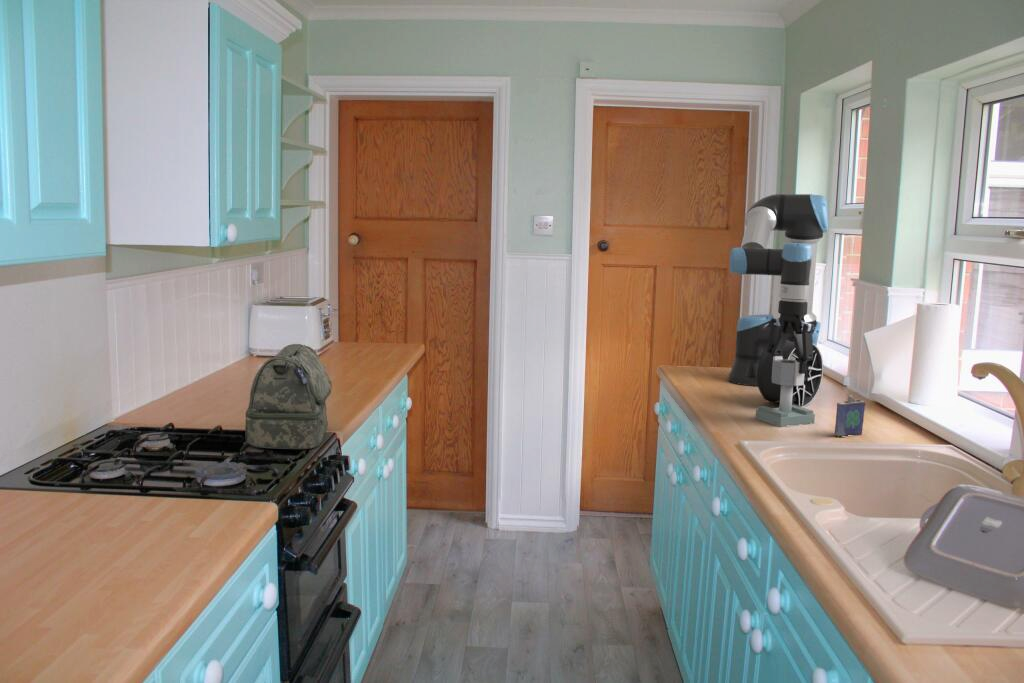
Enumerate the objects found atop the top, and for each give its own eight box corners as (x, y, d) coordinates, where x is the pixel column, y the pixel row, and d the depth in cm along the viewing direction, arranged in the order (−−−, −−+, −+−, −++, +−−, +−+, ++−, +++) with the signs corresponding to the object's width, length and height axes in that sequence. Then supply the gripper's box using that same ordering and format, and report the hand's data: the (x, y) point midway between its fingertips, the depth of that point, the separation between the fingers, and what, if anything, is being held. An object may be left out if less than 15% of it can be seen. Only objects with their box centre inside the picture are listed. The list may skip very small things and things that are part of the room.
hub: (788, 379, 239) (789, 358, 238) (808, 384, 232) (810, 363, 231) (765, 381, 236) (767, 359, 235) (786, 386, 229) (787, 364, 228)
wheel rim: (780, 411, 247) (785, 344, 244) (754, 405, 254) (759, 339, 251) (820, 404, 259) (825, 339, 256) (794, 398, 266) (799, 335, 263)
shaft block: (788, 415, 242) (791, 377, 241) (814, 423, 234) (817, 384, 232) (755, 418, 237) (758, 380, 236) (780, 426, 228) (783, 386, 227)
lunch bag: (321, 452, 193) (320, 358, 190) (239, 453, 191) (237, 357, 188) (334, 425, 218) (334, 341, 215) (262, 424, 217) (261, 340, 214)
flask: (839, 438, 218) (842, 397, 217) (830, 435, 221) (833, 395, 219) (864, 435, 222) (868, 394, 221) (855, 432, 225) (859, 392, 223)
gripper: (756, 296, 238) (751, 376, 242) (811, 304, 220) (804, 390, 223) (777, 296, 242) (771, 374, 245) (832, 303, 223) (825, 388, 226)
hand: (787, 382), depth 234 cm, fingers closed on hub, 8 cm apart
